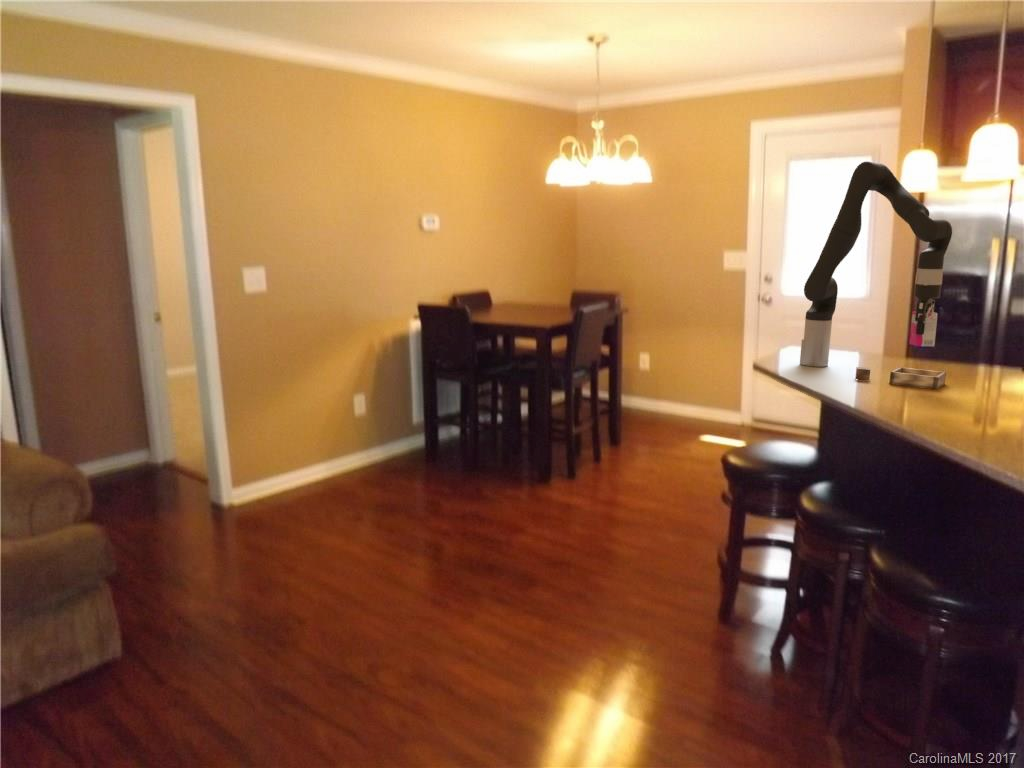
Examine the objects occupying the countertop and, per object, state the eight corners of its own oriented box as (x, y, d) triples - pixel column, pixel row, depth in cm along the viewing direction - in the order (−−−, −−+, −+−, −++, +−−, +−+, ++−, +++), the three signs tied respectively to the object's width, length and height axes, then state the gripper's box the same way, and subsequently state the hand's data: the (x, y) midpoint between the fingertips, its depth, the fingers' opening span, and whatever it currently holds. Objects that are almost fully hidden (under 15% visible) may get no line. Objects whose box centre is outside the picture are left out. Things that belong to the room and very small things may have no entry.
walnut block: (856, 380, 255) (857, 368, 254) (855, 378, 258) (856, 366, 258) (869, 381, 253) (870, 369, 253) (868, 379, 257) (869, 367, 256)
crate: (889, 383, 249) (890, 372, 248) (898, 378, 258) (899, 367, 257) (936, 389, 240) (938, 377, 239) (944, 384, 249) (946, 372, 248)
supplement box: (926, 345, 249) (930, 311, 247) (934, 348, 243) (938, 313, 241) (908, 345, 250) (912, 310, 247) (915, 348, 244) (919, 312, 241)
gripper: (920, 281, 250) (915, 330, 253) (910, 283, 239) (904, 334, 242) (946, 282, 245) (940, 332, 248) (936, 284, 234) (930, 336, 238)
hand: (922, 333), depth 245 cm, fingers closed on supplement box, 8 cm apart
